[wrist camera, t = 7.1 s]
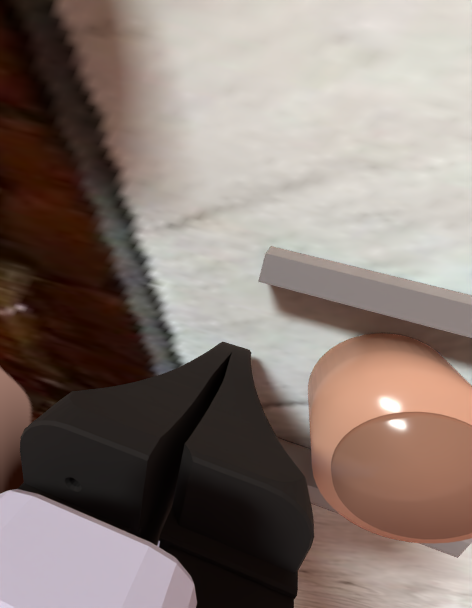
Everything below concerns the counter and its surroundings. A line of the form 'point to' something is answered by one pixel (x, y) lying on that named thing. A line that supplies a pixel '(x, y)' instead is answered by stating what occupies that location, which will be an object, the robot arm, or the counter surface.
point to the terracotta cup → (393, 438)
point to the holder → (373, 297)
